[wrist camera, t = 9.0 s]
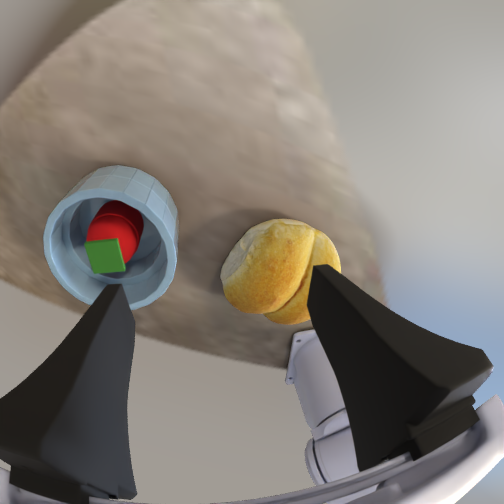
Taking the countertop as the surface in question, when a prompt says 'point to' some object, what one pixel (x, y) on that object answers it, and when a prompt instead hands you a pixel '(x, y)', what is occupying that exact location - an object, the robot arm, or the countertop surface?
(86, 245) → the strawberry
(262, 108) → the countertop surface
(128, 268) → the bowl
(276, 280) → the bread roll
